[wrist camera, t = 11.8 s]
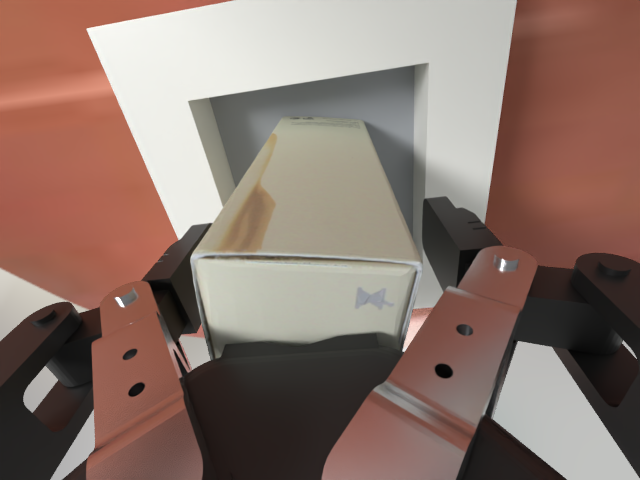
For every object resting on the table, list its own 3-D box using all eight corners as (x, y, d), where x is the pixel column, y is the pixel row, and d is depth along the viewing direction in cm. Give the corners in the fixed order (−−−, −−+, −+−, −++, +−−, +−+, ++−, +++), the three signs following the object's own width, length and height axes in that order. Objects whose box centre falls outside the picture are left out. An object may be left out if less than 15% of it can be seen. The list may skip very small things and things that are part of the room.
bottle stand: (136, 34, 15) (86, 28, 12) (481, -31, 13) (524, -56, 10) (230, 289, 23) (215, 324, 20) (453, 269, 21) (473, 303, 18)
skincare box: (280, 114, 16) (174, 235, 5) (366, 117, 16) (436, 247, 5) (283, 226, 19) (222, 438, 8) (354, 229, 19) (382, 447, 8)
